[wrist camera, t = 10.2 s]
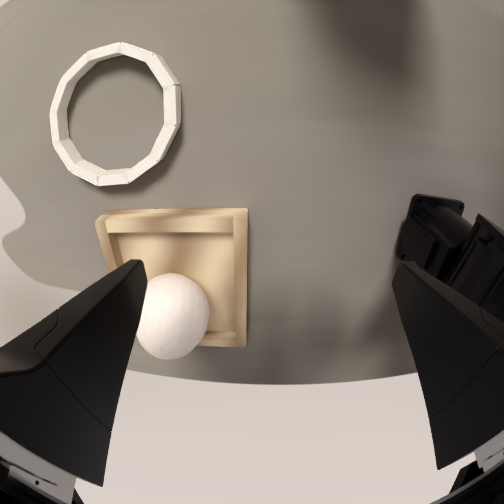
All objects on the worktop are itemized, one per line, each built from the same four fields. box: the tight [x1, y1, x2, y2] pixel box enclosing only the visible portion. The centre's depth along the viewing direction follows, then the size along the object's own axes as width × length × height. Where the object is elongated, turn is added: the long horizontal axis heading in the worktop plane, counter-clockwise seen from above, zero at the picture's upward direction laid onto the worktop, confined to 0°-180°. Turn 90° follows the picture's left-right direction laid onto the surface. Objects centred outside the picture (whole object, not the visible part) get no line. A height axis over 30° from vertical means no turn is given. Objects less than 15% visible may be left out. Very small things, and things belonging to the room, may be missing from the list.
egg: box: [136, 273, 209, 360], centre depth 20 cm, size 6×6×8 cm
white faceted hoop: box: [50, 42, 181, 186], centre depth 16 cm, size 11×11×1 cm
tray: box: [95, 208, 248, 347], centre depth 23 cm, size 12×14×2 cm
